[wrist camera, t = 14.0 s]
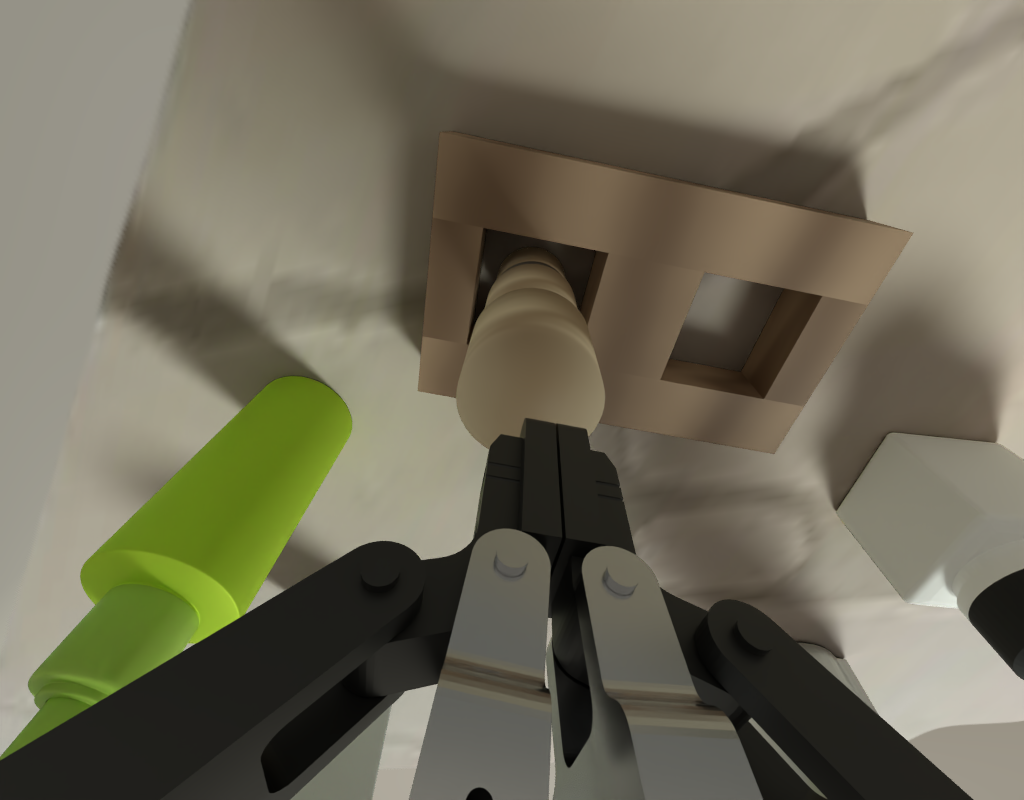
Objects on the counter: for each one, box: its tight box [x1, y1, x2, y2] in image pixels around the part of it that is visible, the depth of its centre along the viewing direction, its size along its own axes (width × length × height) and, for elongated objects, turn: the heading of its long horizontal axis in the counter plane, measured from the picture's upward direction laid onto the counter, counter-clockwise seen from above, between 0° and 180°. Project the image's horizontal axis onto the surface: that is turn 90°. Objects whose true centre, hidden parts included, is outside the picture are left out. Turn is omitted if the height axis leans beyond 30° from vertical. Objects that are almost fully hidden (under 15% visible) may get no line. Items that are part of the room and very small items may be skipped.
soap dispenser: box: [0, 376, 352, 760], centre depth 20 cm, size 6×7×20 cm
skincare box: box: [290, 705, 392, 800], centre depth 33 cm, size 8×6×15 cm
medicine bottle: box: [836, 433, 1024, 680], centre depth 24 cm, size 7×7×12 cm
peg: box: [456, 247, 605, 449], centre depth 18 cm, size 4×4×12 cm
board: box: [418, 131, 913, 454], centre depth 22 cm, size 20×12×3 cm, turn 80°
